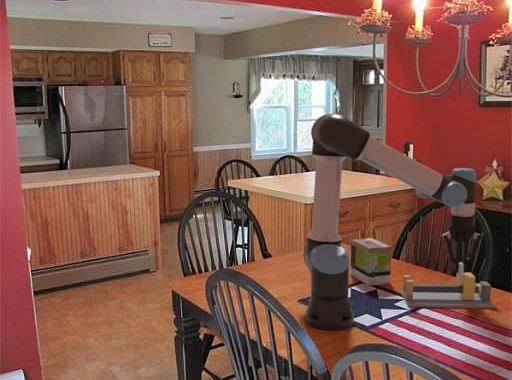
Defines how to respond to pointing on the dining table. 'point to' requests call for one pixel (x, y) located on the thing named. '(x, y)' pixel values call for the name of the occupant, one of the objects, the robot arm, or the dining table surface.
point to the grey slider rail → (444, 295)
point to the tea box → (371, 261)
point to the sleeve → (468, 286)
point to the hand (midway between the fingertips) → (459, 281)
